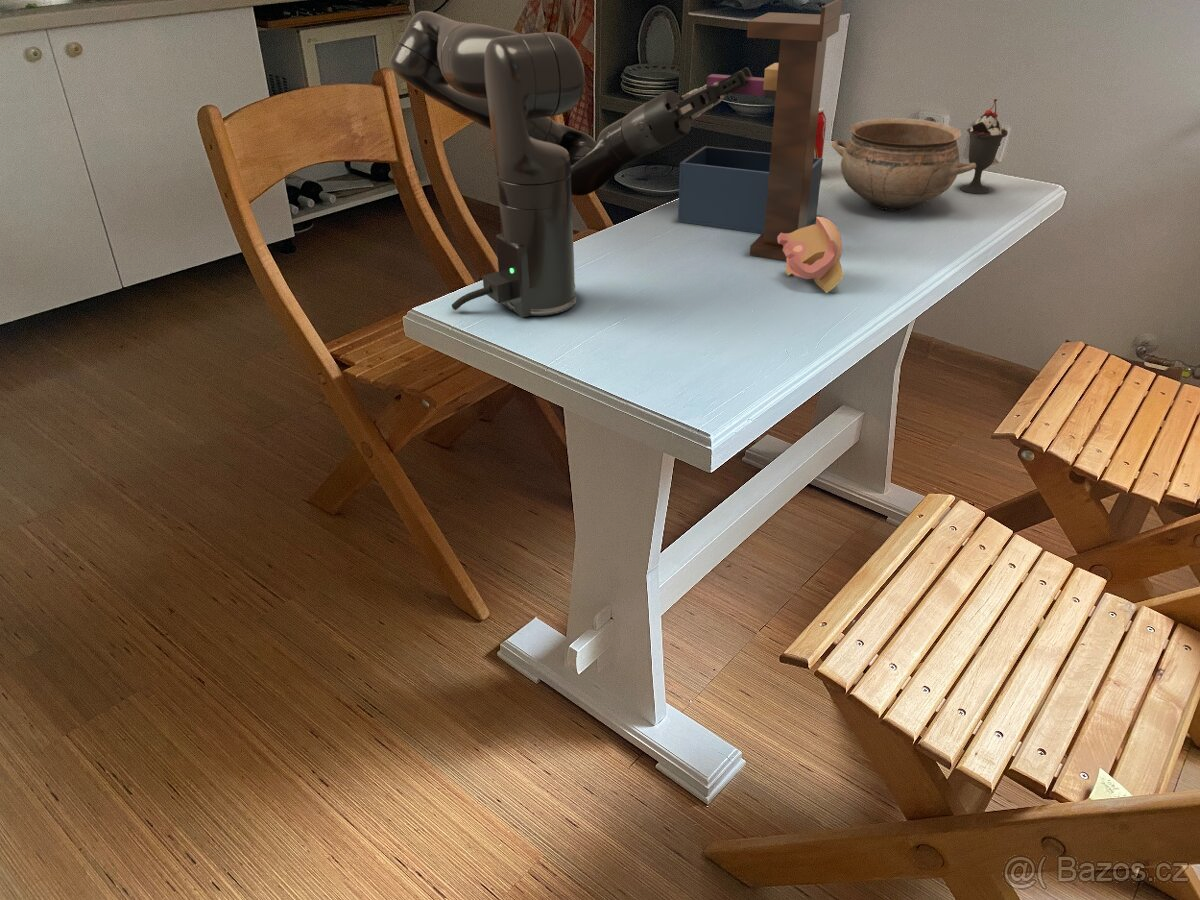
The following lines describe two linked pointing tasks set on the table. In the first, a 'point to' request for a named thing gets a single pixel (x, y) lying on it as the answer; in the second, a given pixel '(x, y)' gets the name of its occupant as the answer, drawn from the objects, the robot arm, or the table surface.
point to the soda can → (820, 134)
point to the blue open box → (732, 189)
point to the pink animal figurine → (814, 253)
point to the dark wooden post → (793, 117)
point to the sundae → (983, 147)
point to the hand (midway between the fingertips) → (746, 75)
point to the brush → (754, 83)
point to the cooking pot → (900, 161)
